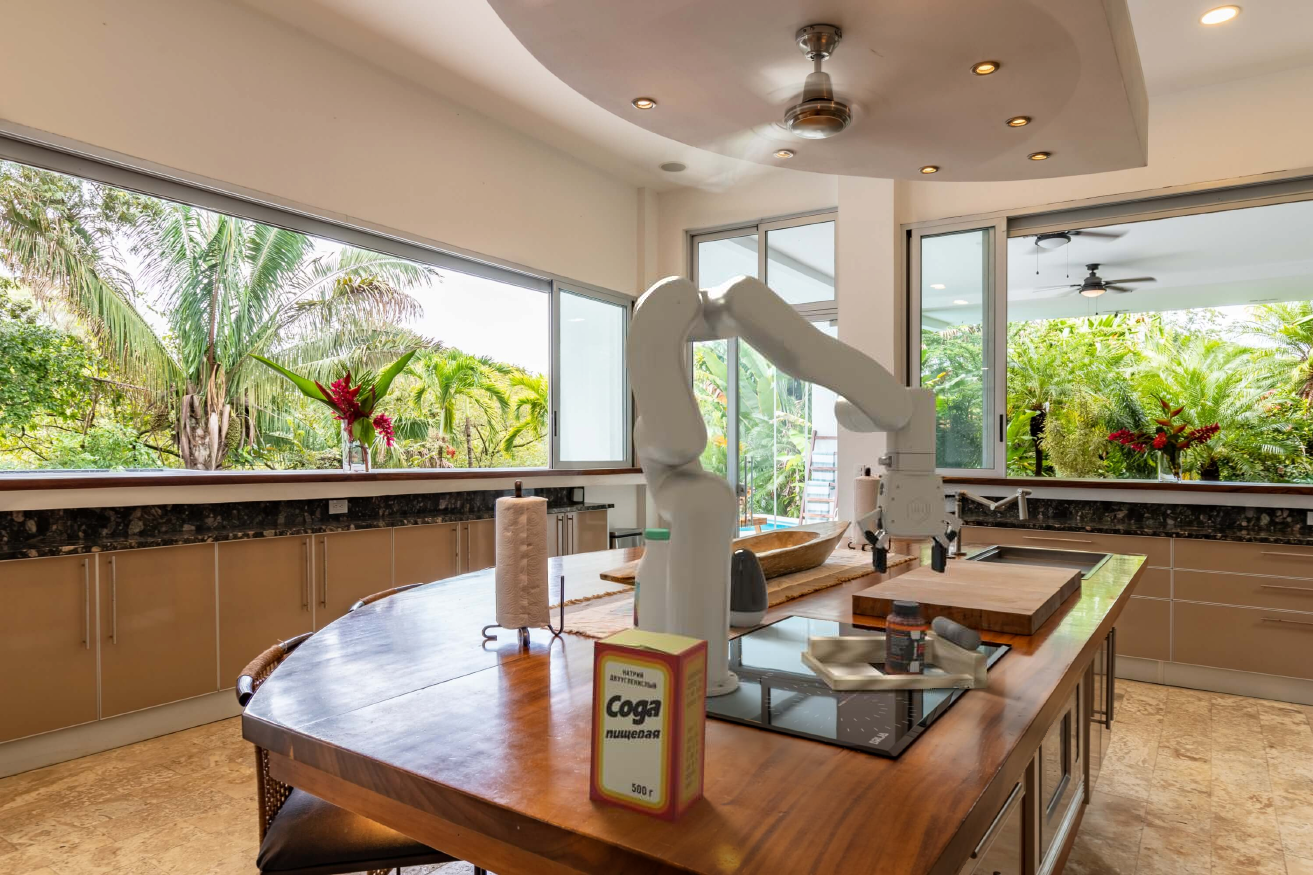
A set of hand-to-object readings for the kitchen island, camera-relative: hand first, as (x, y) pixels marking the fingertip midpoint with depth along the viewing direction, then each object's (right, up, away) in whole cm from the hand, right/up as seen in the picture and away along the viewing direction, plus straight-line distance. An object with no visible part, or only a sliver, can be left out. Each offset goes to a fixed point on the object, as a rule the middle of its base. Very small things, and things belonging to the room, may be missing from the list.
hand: (909, 571), depth 121 cm
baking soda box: (-41, -15, -45) cm, 63 cm away
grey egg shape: (-23, -16, +30) cm, 41 cm away
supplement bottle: (-1, -16, 0) cm, 16 cm away
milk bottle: (-41, -15, +16) cm, 46 cm away
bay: (-3, -16, -1) cm, 16 cm away
